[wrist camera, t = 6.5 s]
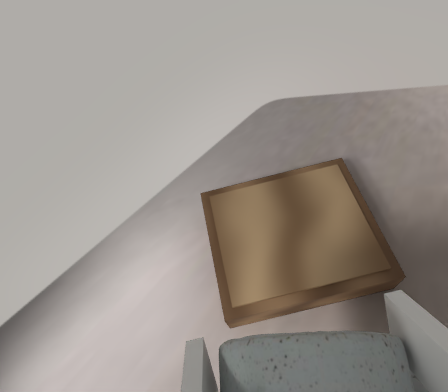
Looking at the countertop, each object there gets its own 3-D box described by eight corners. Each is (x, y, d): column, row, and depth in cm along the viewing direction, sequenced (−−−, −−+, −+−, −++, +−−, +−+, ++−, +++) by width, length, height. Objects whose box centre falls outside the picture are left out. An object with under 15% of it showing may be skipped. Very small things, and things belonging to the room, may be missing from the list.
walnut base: (229, 328, 26) (224, 320, 24) (206, 208, 33) (199, 191, 30) (393, 288, 26) (407, 275, 23) (336, 176, 33) (342, 155, 30)
